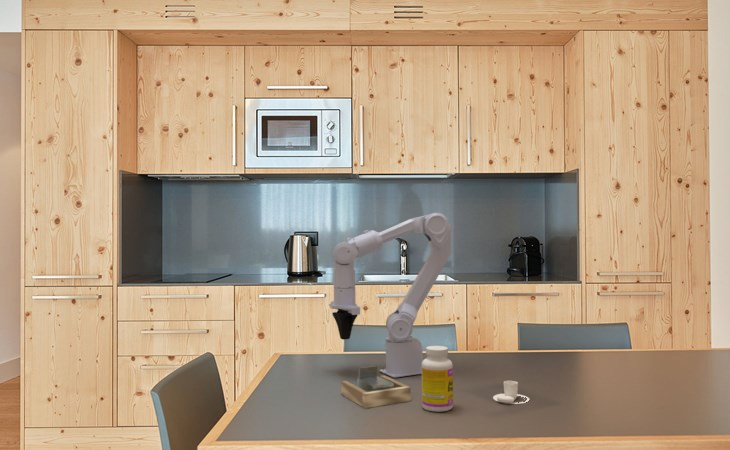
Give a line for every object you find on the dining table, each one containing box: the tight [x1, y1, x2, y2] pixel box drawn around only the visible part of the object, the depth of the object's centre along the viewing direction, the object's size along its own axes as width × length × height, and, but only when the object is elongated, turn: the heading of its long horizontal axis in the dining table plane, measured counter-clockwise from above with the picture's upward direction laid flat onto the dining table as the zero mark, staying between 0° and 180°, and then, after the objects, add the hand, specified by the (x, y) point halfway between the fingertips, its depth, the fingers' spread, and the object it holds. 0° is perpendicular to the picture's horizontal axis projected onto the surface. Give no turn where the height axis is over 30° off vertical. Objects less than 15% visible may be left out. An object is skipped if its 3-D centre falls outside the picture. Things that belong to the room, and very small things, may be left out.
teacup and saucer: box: [492, 380, 530, 405], centre depth 131 cm, size 9×8×4 cm
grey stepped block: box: [356, 365, 394, 392], centre depth 133 cm, size 8×6×6 cm
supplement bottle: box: [421, 345, 454, 413], centre depth 125 cm, size 7×7×13 cm
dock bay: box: [340, 374, 412, 409], centre depth 133 cm, size 11×12×3 cm
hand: (345, 338), depth 155 cm, fingers closed
